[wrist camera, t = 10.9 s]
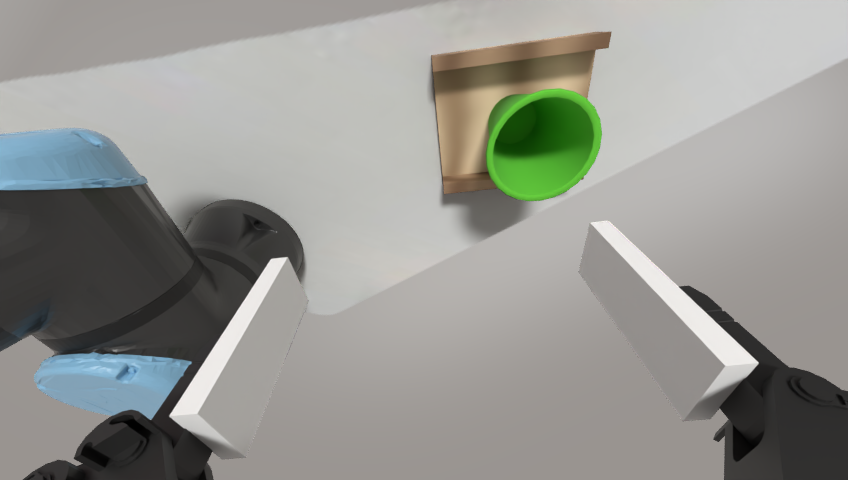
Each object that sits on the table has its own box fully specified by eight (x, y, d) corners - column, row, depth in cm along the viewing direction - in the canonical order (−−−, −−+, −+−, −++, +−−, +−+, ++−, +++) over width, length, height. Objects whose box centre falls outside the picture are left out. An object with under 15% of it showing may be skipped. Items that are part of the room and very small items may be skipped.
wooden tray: (443, 183, 38) (444, 193, 36) (431, 55, 30) (431, 57, 28) (572, 169, 37) (583, 179, 34) (594, 32, 29) (611, 31, 26)
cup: (556, 146, 35) (602, 185, 25) (479, 168, 36) (496, 213, 27) (550, 59, 30) (604, 70, 21) (461, 90, 31) (475, 112, 22)
